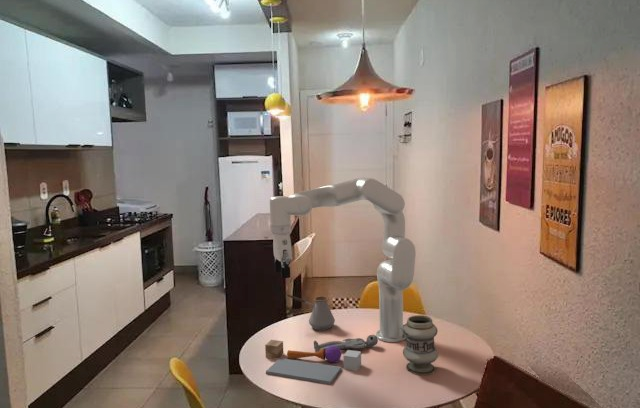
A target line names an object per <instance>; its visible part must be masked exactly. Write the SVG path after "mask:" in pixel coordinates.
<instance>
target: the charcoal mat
mask: <svg viewBox="0 0 640 408" xmlns="http://www.w3.org/2000/svg"><path fill="white" fill-rule="evenodd" d="M341 371H342V367H341V366H337V365H330V364H323V363H317V362H316V363H315V362H311V361H310V362H309V361H301V360H297V359H296V360H295V359H288V358H283V357H282V358H281V357H279V358H278V359H276V361H275V362H274V363H273V364H272V365H271V366H270V367H268V368H267V370H265V375H270V376H271V375H272V376H276V377H277V376H278V377H284V378H287V379H288V378H289V379H296V380H301V381H308V382H313V383H319V384H324V385H325V384H326V385H332V384H333V382H334V380H335V379H336V377H338V375H339V374H340V372H341Z"/></svg>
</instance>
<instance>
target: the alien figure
mask: <svg viewBox="0 0 640 408" xmlns="http://www.w3.org/2000/svg"><path fill="white" fill-rule="evenodd" d="M378 341H379V339H378V338H377V337H376V334H370V335H367V337H366V340H364V339H363V338H362V337H361V338H360V337H357V338H345V339H343V340H342V341H341V340H332V341H331V340H330V341H327V342H326V341H325V342H323V343H320V344H319V343H318V341H317V340H313V348H314V353H316V352H318V351H320V350H322V349H324V348H325V351H326V349H327V348H328V347H329V346H337V347H338V348H339V349H340V350H343V349H345V350H352V349H358V350H359V349H364V348H373V347H375V346H376V345H377V344H378Z"/></svg>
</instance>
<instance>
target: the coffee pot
mask: <svg viewBox="0 0 640 408" xmlns="http://www.w3.org/2000/svg"><path fill="white" fill-rule="evenodd" d="M285 296H286V297H285V299H287V297H289V298H290V299H293V300H295V301H297V302H301V303H304V304H307V305H309V306H311V307H313V309H312V311H311V314H310V317H309V320H308V324H309V325H310V326H311V327H312V328H313V330H315V331H316V330H317V331H325V330H329V329H331V328H332V326H334V324H335V322H336V319H335V317H334V315H333V313H332V311H331V309H330V306H329V304H328V301H329V297H328V296H322V295H320V296H316V297H314V299H313V300H314V302H315V303H311V302H309V301H306V300H304V299H302V298H300V297H297V296H294V295H290V294H286V295H285Z"/></svg>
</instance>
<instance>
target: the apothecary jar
mask: <svg viewBox="0 0 640 408" xmlns="http://www.w3.org/2000/svg"><path fill="white" fill-rule="evenodd" d="M406 320H407V321H406V323H405V324H403V325H404V326H403V333H404V334H405V335H406V339H405V342H406V344H405V346H404V348H403V349H402V355H403V357H404V358H405V359H406V360H407V361H408V363H407V364H406V366H405V367H406V370H407V371H408V372H411V373H412V374H414V375H417V376H427V375H428V376H429V375H431V374H433V373H435V372H436V367H435V366H434V364H432V363H434V362H435V361H437V359H438V357H439V351H438V349H437V347H435V337H436V336H437V335H438V328H437V326H436V325H435V324H434V323H433V319H432V318H431V317H430V316H428V315H422V314H417V315H410V316H408V318H407V319H406Z"/></svg>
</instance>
